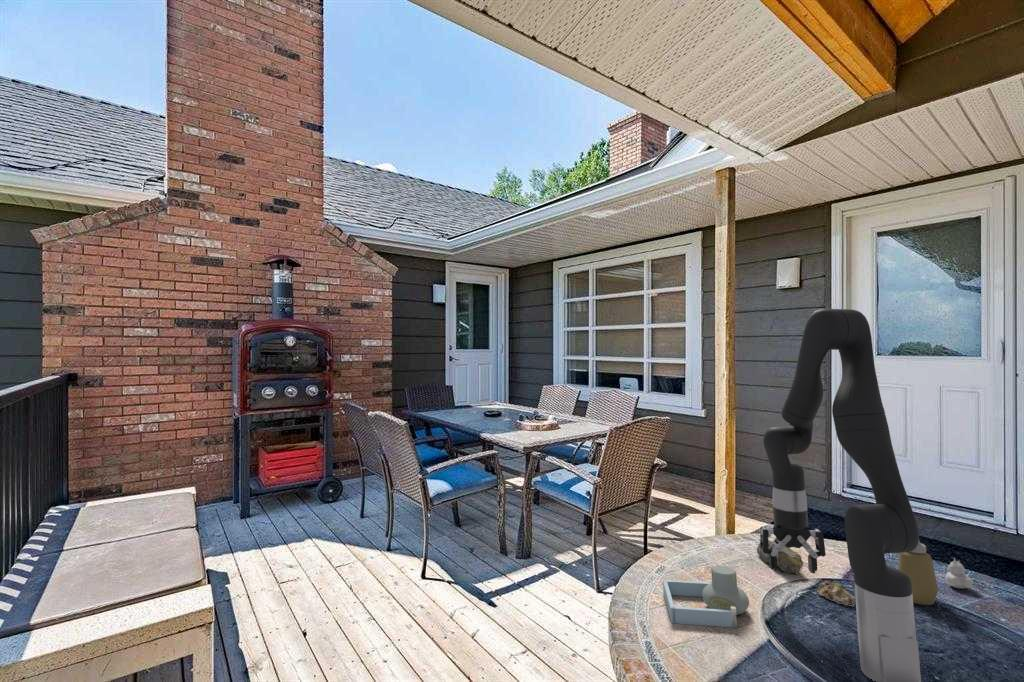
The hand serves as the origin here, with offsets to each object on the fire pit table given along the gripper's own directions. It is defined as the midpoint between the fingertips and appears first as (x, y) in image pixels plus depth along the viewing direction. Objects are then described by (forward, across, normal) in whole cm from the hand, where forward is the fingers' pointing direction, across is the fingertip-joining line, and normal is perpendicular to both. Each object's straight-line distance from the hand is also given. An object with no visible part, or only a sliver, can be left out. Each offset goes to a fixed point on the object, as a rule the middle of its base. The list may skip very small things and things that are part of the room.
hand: (793, 571), depth 119 cm
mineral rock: (+11, +14, +10) cm, 20 cm away
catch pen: (+10, -24, -1) cm, 26 cm away
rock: (+11, +6, +31) cm, 34 cm away
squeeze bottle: (+11, +33, +12) cm, 37 cm away
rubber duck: (+11, +48, +21) cm, 54 cm away
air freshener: (+11, -16, -1) cm, 20 cm away
